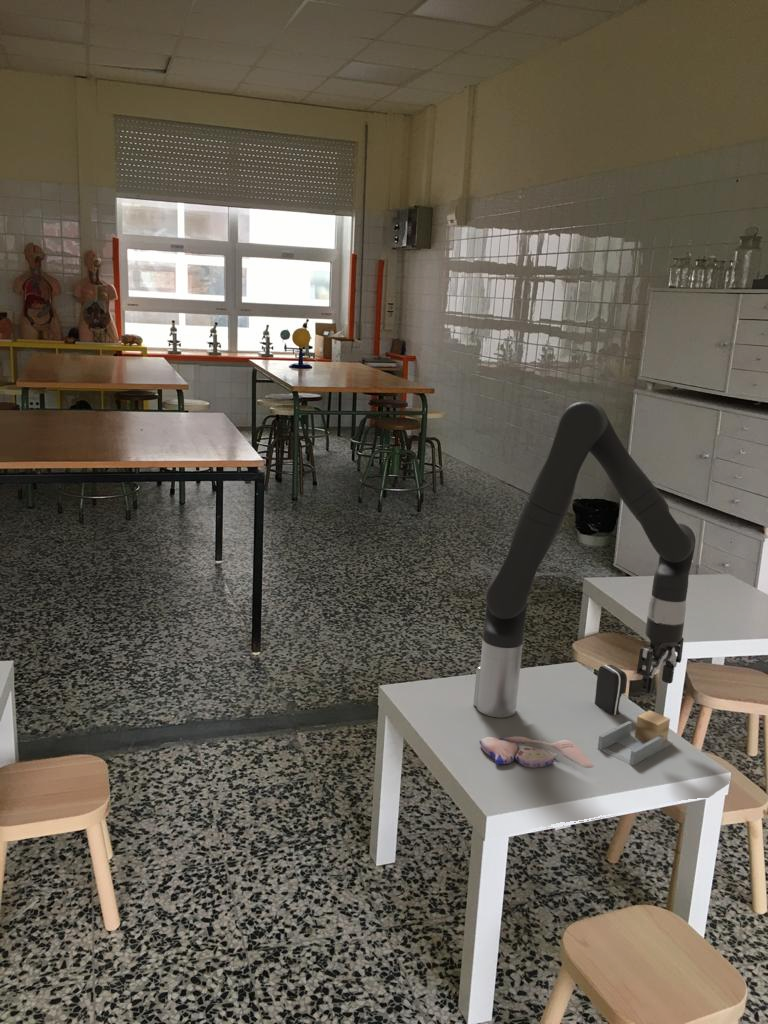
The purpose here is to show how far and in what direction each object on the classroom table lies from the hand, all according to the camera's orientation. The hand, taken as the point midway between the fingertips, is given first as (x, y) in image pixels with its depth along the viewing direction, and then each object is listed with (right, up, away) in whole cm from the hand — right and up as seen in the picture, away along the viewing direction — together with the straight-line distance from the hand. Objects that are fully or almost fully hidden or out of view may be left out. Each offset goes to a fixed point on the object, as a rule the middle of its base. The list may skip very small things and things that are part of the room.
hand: (656, 687), depth 184 cm
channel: (-5, -14, 0) cm, 14 cm away
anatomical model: (-28, -14, -6) cm, 32 cm away
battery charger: (-6, -10, +17) cm, 20 cm away
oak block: (0, -12, +3) cm, 12 cm away
